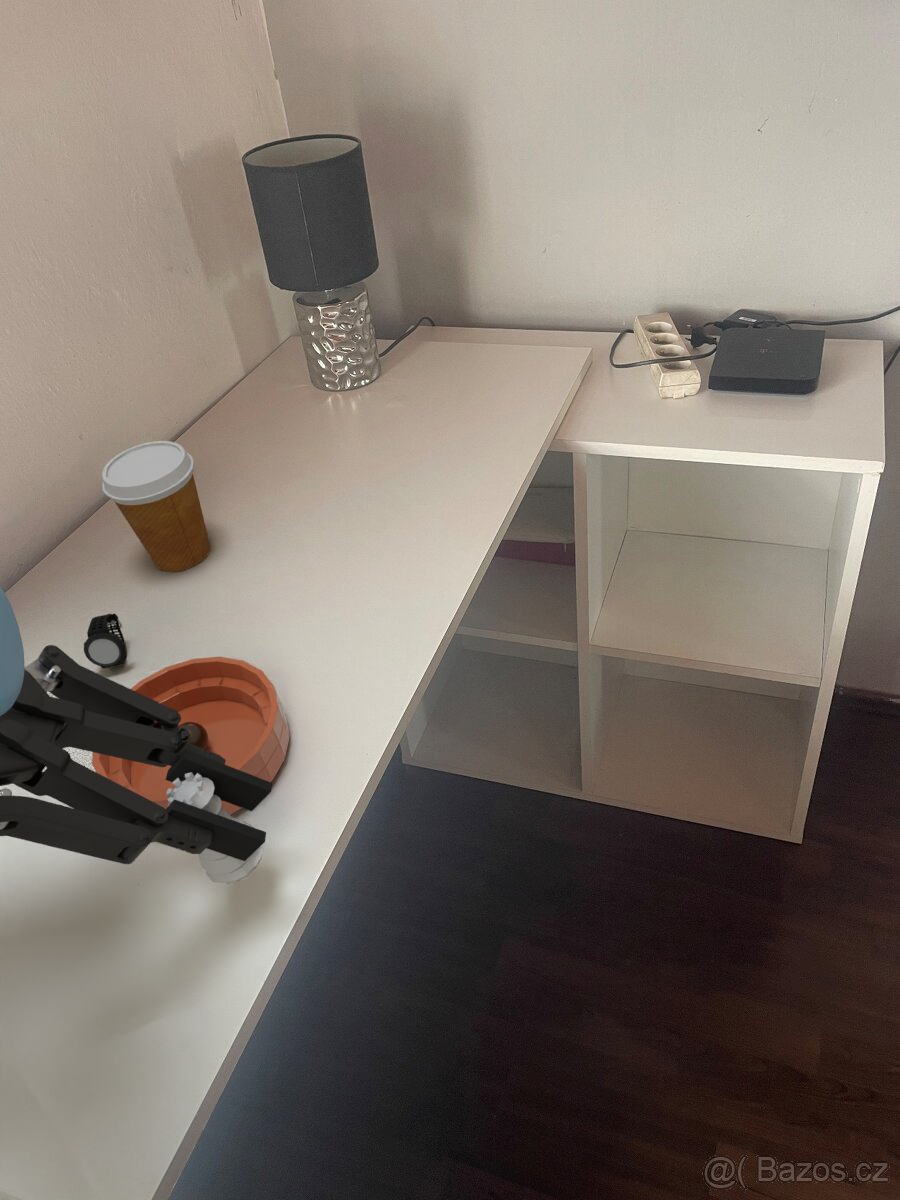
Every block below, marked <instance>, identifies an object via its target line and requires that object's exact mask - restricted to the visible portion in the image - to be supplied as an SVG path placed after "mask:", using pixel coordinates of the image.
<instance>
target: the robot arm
mask: <svg viewBox="0 0 900 1200" xmlns="http://www.w3.org/2000/svg"><path fill="white" fill-rule="evenodd" d="M23 643H24V642H23V639H22V635H21V630H20V627H19V623H18V620H17V617H16V614H15V611H14V609H13V606H12V604H11V602H10V600H9V598H8V596H7V594H6V592H5V590H4V589H3V587H2V586H1V585H0V787H4V786H8V785H15V786H16V787H18V788H20V789H22V790H25V791H26V792H28V793H31V794H32V795H34V796H37V797H44V796H47V797H50V798H52V799H53V800H56V801H57V802H60V803H62V804H64V805H62V804H59V803H54V802H51V801H47V800H43V799H40V798H35V797H30V796H25V795H13V792H12V790H11V789H10V788H2V789H0V837H11V838H14V839H18V840H21V841H22V840H23V841H26V842H31V843H35V844H39V845H43V846H47V847H50V848H51V847H52V848H56V849H60V850H64V851H68V852H73V853H77V854H81V855H85V856H89V857H93V858H98V859H102V860H106V861H109V862H114V863H118V864H121V865H131V864H133V863H134V862H135V861H136V860H137V859H138V858H139V856H141V854H142V853H143V852H144V851H145V850H146V849H147V848H148V846H149V845H150V844H152V843H157V844H161V845H164V846H168V847H171V848H172V849H177V850H180V851H182V852H185V853H187V854H188V853H189V854H191V855H199V854H201V853H202V852H203V851H204V850H205V849H206V848H207V849H210V850H213V851H215V852H218V853H221V854H224V855H227V856H230V857H233V858H236V859H239V860H242V861H246V860H247V859H248V858H249V857H250V856H251V855H252V854H253V853H254V852H255V851H256V850H257V849H258V848H259V847H260V846H261V845H262V844H263V843H264V844H265V843H266V837H267V831H264V830H261V829H259V828H256V827H254V826H253V827H254V828H253V827H250V826H248V825H245V824H242V823H239V822H236V821H234V820H231V819H228V818H225V817H223V816H220V815H217V814H214V813H211V812H209V811H206V810H203V809H200V808H197V807H195V806H192V805H189V804H186V803H183V802H181V801H178V800H175V799H174V801H173V802H172V803H171V804H170V805H169V806H168V807H167V808H166V809H165V808H164V807H162V806H160V805H158V804H156V803H154V802H152V801H150V800H148V799H146V798H145V797H143V796H141V795H139V794H137V793H135V792H133V791H131V790H129V789H127V788H125V787H123V786H121V785H120V784H118V783H116V782H114V781H112V780H110V779H108V778H106V777H104V776H102V775H100V774H98V773H96V771H95V770H93V769H90V768H88V767H87V766H85V765H83V764H81V763H79V762H77V761H75V760H74V759H72V757H71V754H70V752H69V751H67V750H66V749H65V748H73V749H76V750H77V749H78V750H82V751H86V752H91V753H93V752H95V753H99V754H104V755H108V756H113V757H117V758H122V759H126V760H131V761H135V762H140V763H144V764H149V765H153V766H158V767H166V766H167V765H169V766H171V768H170V769H169V770H168V772H167V776H166V780H168V781H170V782H174V781H175V780H176V779H177V778H179V780H180V781H181V782H182V781H184V780H186V778H185V774H187V773H191V772H192V773H193V775H194V776H195V775H196V774H197V773H198V774H199V775H201V776H202V777H203V778H209V779H210V780H211V781H212V782H213V784H214V793H213V795H217V796H218V797H219V798H220V800H222V801H225V802H228V803H230V804H233V805H236V806H239V807H241V809H244V810H247V811H250V812H253V811H254V810H255V809H256V808H257V807H258V806H259V805H260V804H261V803H262V802H263V801H264V800H265V799H266V798H267V797H268V796H269V795H270V794H271V793H272V791H273V790H272V788H273V782H272V781H271V782H269V781H266V780H263V779H261V778H258V777H256V776H253V775H251V774H248V773H245V772H243V771H240V770H238V769H235V768H232V767H230V766H227V765H225V762H226V760H225V759H224V758H223V757H221V756H220V755H218V754H216V753H213V752H210V751H208V750H205V749H203V748H200V747H198V746H195V745H192V744H190V743H188V741H189V740H190V737H191V736H190V733H189V731H188V730H187V729H186V728H183V727H182V728H181V729H180V730H179V726H178V724H179V722H180V721H181V716H180V714H179V713H178V712H177V711H175V710H174V709H171V708H169V707H167V706H165V705H163V704H161V703H159V702H157V701H154V700H152V699H150V698H148V697H146V696H144V695H142V694H140V693H138V692H135V691H133V690H131V688H130V687H127V686H125V685H123V684H120V683H118V682H116V681H114V680H113V679H110V678H108V677H106V676H104V675H101V674H99V673H98V672H95V671H93V670H91V669H88V668H87V667H84V666H83V665H80V664H79V663H78V662H76V661H75V660H74V659H73V658H72V657H71V656H70V655H68V654H67V653H66V652H65V651H64V650H63V649H61V648H60V647H59V646H57V645H54V644H48V645H46V646H44V647H43V649H42V651H41V652H40V654H39V655H38V657H37V658H36V659H35V660H33V661H32V662H30V663H28V665H26V666H25V649H24V644H23ZM48 693H50V694H51V695H53V696H50V695H49V694H48ZM155 721H156V722H157V723H156V722H155ZM45 768H46V769H45Z"/></svg>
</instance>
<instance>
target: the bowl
mask: <svg viewBox="0 0 900 1200" xmlns="http://www.w3.org/2000/svg"><path fill="white" fill-rule="evenodd" d="M130 689H131V690H133V691H135V692H138V693H140V694H142V695H144V696H146V697H148V698H150V699H152V700H154V701H157V702H159V703H161V704H163V705H165V706H167V707H169V708H171V709H174V710H175V711H177V712H178V713H179V714H180V716H181V721H180V722H179V724H178V726H179V725H181V724H183V723H186V722H195V723H198V724H200V725H202V726H203V727H204V728H205V730H206V731H207V734H208V745H207V747H206V749H205V750H208V751H210V752H213V753H216V754H218V755H220V756H221V757H223V758H224V759H225V760H226V762H225V765H227V766H230V767H232V768H235V769H238V770H240V771H243V772H245V773H248V774H251V775H253V776H256V777H258V778H261V779H263V780H266V781H269V782H271V783H272V781H273V780H274V778H275V777H276V775H277V773H278V772H279V770H280V768H281V766H282V764H283V763H284V761H285V760H286V756H287V751H288V746H289V742H290V730H289V724H288V720H287V715H286V713H285V711H284V708H283V704H282V702H281V700H280V697H279V695H278V693H277V690H276V687H275V685H274V683H272V681H271V680H270V678H269V677H268V676H267V675H266V674H265V673H264V671H263V670H262V669H260V668H258V667H256V666H254V665H252V664H250V663H249V662H247V661H245V660H242V659H236V658H230V657H225V656H209V657H198V658H197V657H196V658H192V659H188V660H185V661H181V662H177V663H174V664H172V665H168V666H165V667H164V668H162V669H160V670H158V671H156V672H154V673H152V674H150V675H148V676H146V677H145V678H142V679H141V680H139V681H138V682H136V683H135V684H134V685H133V686H132V687H131V688H130ZM155 722H156V721H155ZM156 723H157V722H156ZM91 755H92V759H91V763H92V766H93V769H94V772H96V773H98V774H100V775H102V776H104V777H106V778H108V779H110V780H112V781H114V782H116V783H118V784H120V785H121V786H123V787H125V788H127V789H129V790H131V791H133V792H135V793H137V794H139V795H141V796H143V797H145V798H146V799H148V800H150V801H152V802H154V803H156V804H158V805H160V806H162V807H164V808H165V809H166V808H167V807H168V803H169V801H168V800H167V799H169V798H168V796H167V795H166V793H167V790H168V789H172V790H174V788H175V786H174V785H173V783H172V782H170V781H168V780H166V776H167V772H168V770H169V769H170V768H171V766H169V765H167V766H166V767H158V766H153V765H149V764H144V763H140V762H135V761H131V760H126V759H122V758H117V757H113V756H108V755H104V754H99V753H95V752H92V754H91ZM221 806H222V807H223V809H224V810H225V811H226V812H227V813H228V814H229V815H230V816H231V815H233V814H234V813H236V812H238V811H240V810H241V809H242V808H241V807H239V806H236V805H233V804H230V803H228V802H225V801H222V800H221Z"/></svg>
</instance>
